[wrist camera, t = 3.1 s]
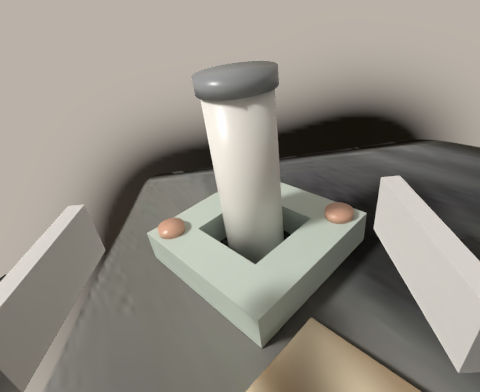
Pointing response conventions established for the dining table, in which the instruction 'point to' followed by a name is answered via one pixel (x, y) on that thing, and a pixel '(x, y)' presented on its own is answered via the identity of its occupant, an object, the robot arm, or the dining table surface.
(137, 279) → the dining table surface
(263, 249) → the cylinder
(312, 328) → the board
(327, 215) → the frame
